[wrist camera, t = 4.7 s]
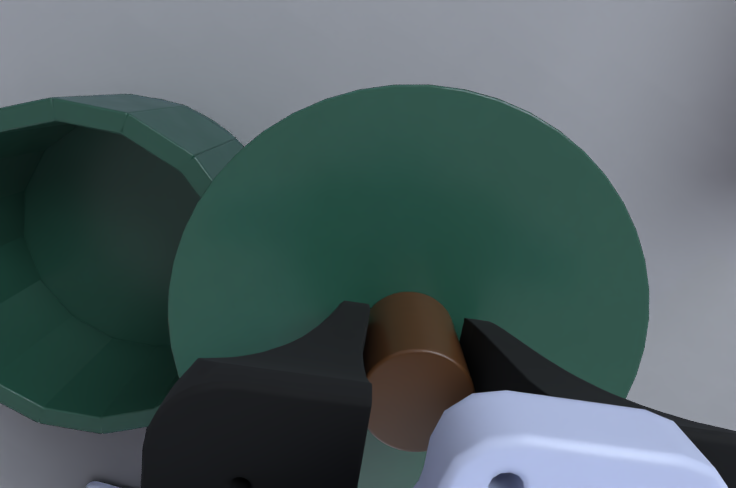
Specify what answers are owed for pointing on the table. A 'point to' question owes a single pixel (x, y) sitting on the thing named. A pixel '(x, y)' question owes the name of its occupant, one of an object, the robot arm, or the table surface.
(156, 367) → the pot
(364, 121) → the pot lid
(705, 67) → the table surface
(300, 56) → the table surface
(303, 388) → the robot arm
